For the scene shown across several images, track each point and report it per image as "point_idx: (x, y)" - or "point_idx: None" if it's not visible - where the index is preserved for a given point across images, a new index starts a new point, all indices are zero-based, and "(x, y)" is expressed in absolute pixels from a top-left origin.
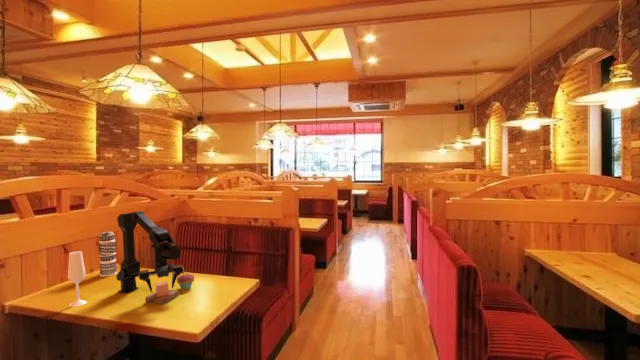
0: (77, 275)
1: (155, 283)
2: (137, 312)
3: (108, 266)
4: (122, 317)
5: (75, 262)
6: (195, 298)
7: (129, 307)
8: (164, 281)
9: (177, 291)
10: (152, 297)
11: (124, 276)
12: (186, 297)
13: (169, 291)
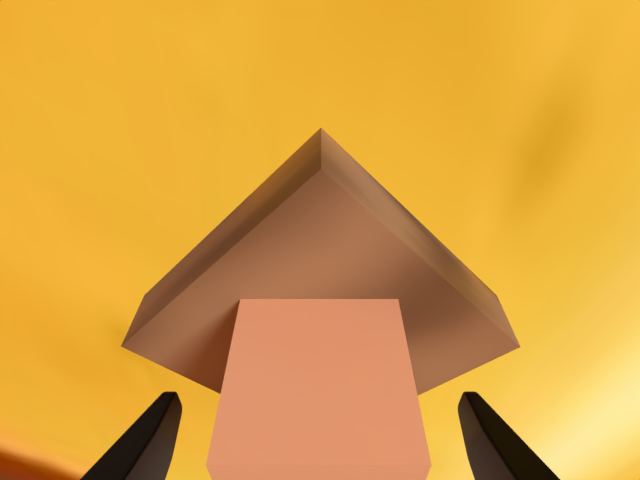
0: None
1: (209, 462)
2: (122, 421)
3: None
4: (36, 438)
5: None
6: (579, 400)
7: (5, 330)
8: (383, 466)
9: (506, 348)
10: (208, 383)
11: None
12: (536, 358)
13: (421, 320)
